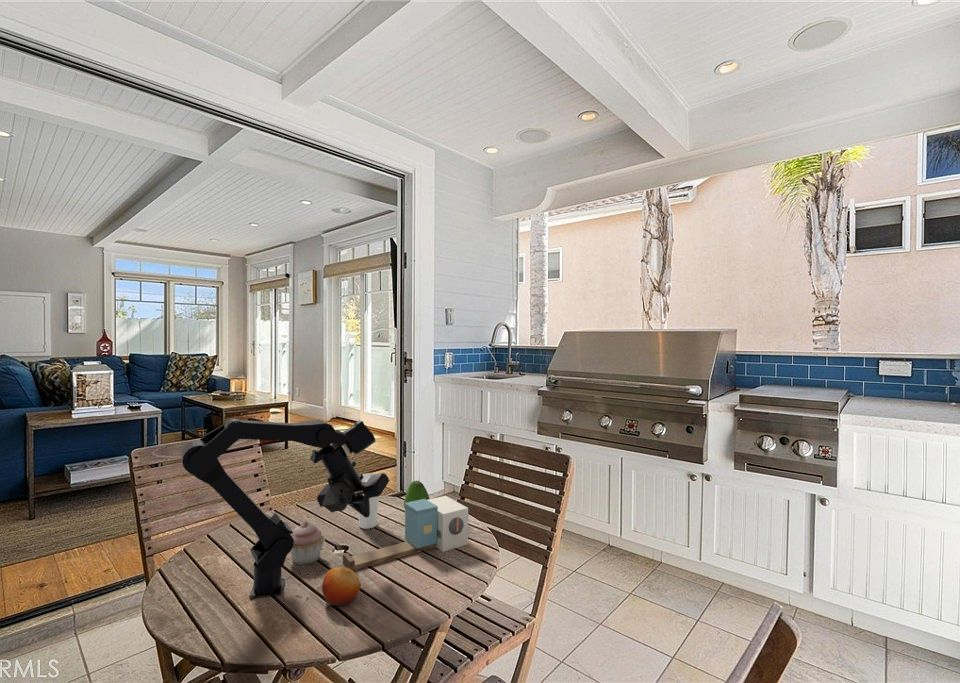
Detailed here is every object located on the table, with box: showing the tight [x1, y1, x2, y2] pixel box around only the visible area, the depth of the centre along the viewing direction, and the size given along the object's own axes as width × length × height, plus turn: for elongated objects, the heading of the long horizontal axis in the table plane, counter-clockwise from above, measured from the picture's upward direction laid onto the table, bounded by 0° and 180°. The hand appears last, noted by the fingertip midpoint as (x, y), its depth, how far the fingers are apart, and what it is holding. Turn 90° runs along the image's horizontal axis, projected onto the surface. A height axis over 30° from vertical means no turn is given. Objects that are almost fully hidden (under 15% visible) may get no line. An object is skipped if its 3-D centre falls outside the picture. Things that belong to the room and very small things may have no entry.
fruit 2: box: [403, 480, 431, 509], centre depth 149 cm, size 8×8×12 cm
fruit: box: [321, 566, 362, 610], centre depth 102 cm, size 8×8×8 cm
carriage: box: [404, 499, 438, 549], centre depth 129 cm, size 6×7×10 cm
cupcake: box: [289, 520, 326, 566], centre depth 121 cm, size 9×9×10 cm
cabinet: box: [428, 495, 469, 553], centre depth 133 cm, size 8×13×10 cm, turn 35°
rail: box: [342, 540, 437, 571], centre depth 124 cm, size 24×5×2 cm, turn 125°
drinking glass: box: [357, 472, 380, 530], centre depth 143 cm, size 7×7×15 cm
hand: (367, 516), depth 120 cm, fingers closed
